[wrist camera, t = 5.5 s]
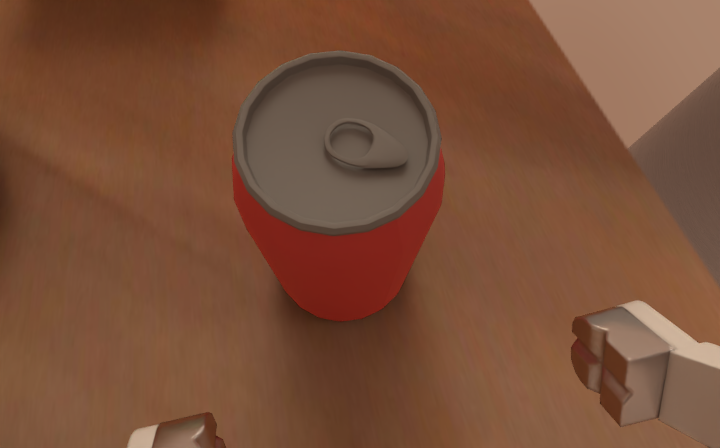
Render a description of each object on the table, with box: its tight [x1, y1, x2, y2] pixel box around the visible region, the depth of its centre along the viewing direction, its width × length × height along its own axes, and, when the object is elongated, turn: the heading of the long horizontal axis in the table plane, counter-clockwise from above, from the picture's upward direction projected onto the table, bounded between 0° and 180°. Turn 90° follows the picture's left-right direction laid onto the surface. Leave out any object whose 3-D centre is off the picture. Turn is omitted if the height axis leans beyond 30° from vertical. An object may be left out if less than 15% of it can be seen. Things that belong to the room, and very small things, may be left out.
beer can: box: [232, 51, 445, 322], centre depth 18 cm, size 7×7×12 cm
